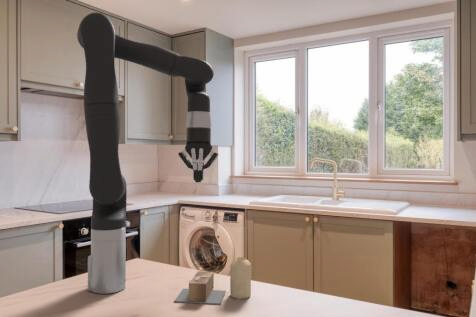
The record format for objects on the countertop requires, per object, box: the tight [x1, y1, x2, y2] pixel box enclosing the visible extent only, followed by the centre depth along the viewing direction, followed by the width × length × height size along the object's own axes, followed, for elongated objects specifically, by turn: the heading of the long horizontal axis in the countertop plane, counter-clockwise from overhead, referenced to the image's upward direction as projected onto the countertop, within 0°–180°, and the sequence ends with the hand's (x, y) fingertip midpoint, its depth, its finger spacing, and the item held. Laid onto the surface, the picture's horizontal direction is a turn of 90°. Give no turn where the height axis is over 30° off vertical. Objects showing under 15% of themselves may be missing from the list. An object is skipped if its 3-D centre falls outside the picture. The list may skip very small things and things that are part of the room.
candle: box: [229, 256, 252, 300], centre depth 104 cm, size 6×6×10 cm
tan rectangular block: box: [188, 270, 215, 301], centre depth 104 cm, size 4×5×10 cm
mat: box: [173, 288, 227, 306], centre depth 102 cm, size 12×9×1 cm
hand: (198, 182), depth 121 cm, fingers closed
